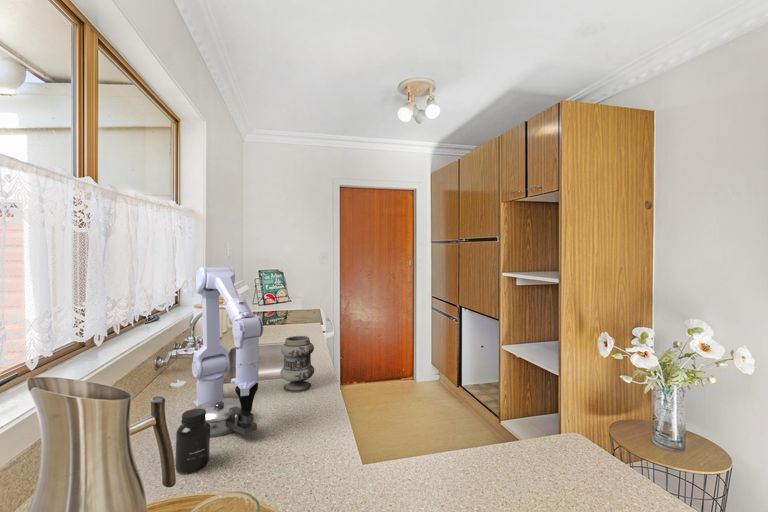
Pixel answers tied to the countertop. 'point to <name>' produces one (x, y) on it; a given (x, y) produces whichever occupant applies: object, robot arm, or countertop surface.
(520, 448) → the countertop surface
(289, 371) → the apothecary jar
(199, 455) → the supplement bottle
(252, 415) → the lid
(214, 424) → the pot
